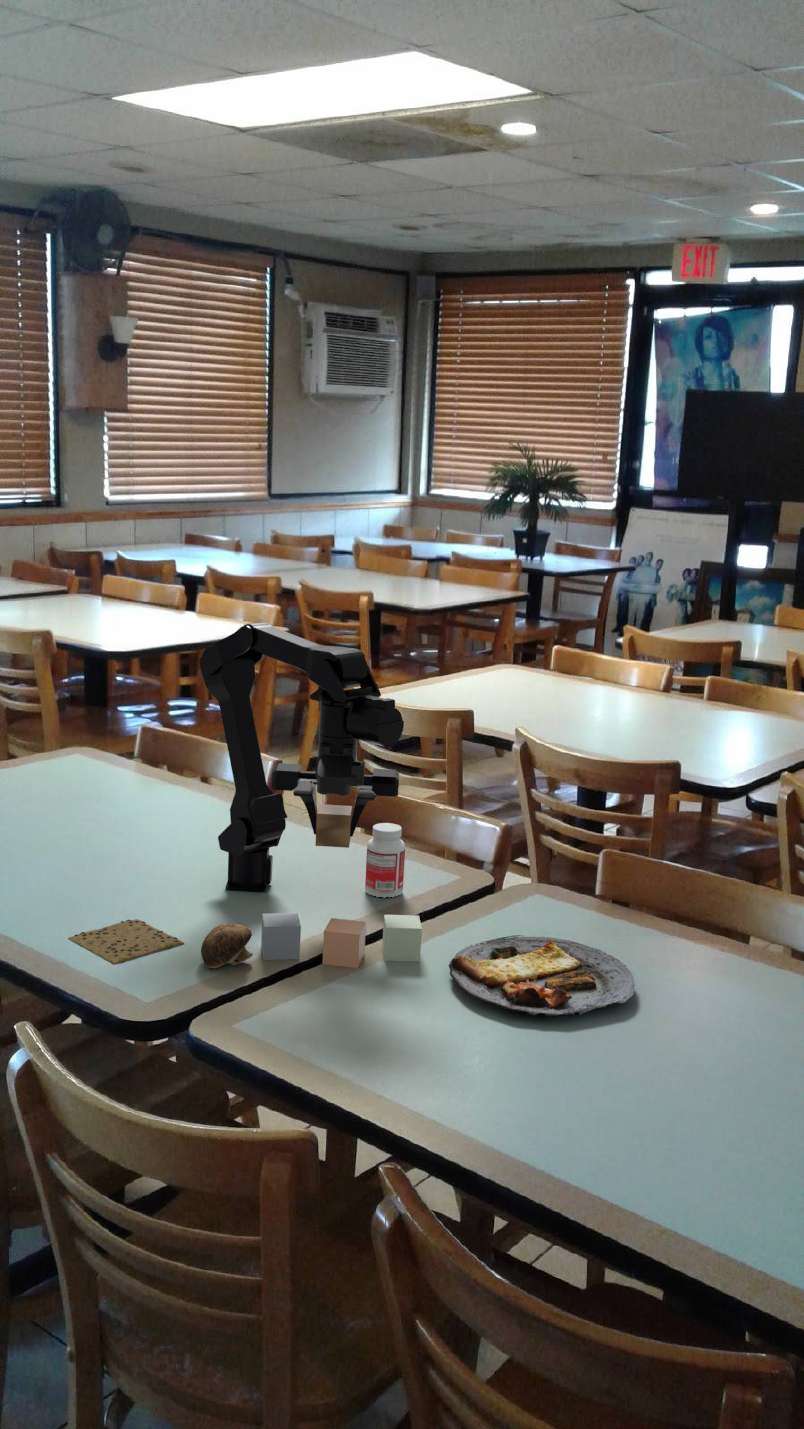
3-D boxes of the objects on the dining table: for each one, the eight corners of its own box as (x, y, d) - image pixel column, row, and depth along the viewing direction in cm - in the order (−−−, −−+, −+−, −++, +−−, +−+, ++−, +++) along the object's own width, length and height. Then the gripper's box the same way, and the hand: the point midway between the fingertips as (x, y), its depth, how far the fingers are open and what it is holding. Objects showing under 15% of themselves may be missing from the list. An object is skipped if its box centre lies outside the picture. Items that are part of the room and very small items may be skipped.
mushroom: (275, 940, 174) (248, 905, 172) (246, 979, 168) (218, 944, 166) (238, 951, 178) (211, 918, 177) (208, 990, 173) (181, 956, 171)
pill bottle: (386, 883, 208) (390, 819, 206) (410, 894, 204) (414, 829, 202) (356, 890, 204) (360, 824, 202) (380, 901, 200) (384, 834, 198)
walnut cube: (315, 845, 187) (316, 813, 186) (317, 835, 192) (319, 804, 191) (349, 847, 187) (350, 815, 186) (350, 837, 192) (352, 806, 191)
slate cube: (263, 960, 175) (264, 926, 174) (261, 946, 180) (262, 913, 179) (299, 960, 176) (300, 926, 175) (296, 946, 181) (297, 913, 180)
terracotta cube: (322, 964, 175) (323, 930, 174) (329, 951, 180) (331, 917, 178) (357, 968, 174) (359, 934, 173) (364, 954, 179) (366, 921, 178)
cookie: (65, 941, 178) (65, 934, 178) (137, 921, 187) (137, 915, 187) (113, 967, 170) (113, 961, 170) (186, 946, 179) (186, 940, 179)
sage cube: (384, 961, 177) (386, 927, 176) (382, 947, 182) (384, 914, 181) (419, 962, 178) (422, 928, 176) (416, 948, 182) (418, 915, 181)
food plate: (506, 1038, 156) (509, 1012, 155) (418, 966, 176) (419, 943, 176) (666, 1007, 168) (668, 982, 167) (565, 943, 188) (567, 921, 187)
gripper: (269, 742, 179) (265, 848, 182) (400, 750, 179) (394, 855, 182) (277, 725, 189) (273, 825, 193) (401, 732, 190) (395, 832, 193)
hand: (333, 834), depth 190 cm, fingers closed on walnut cube, 5 cm apart
